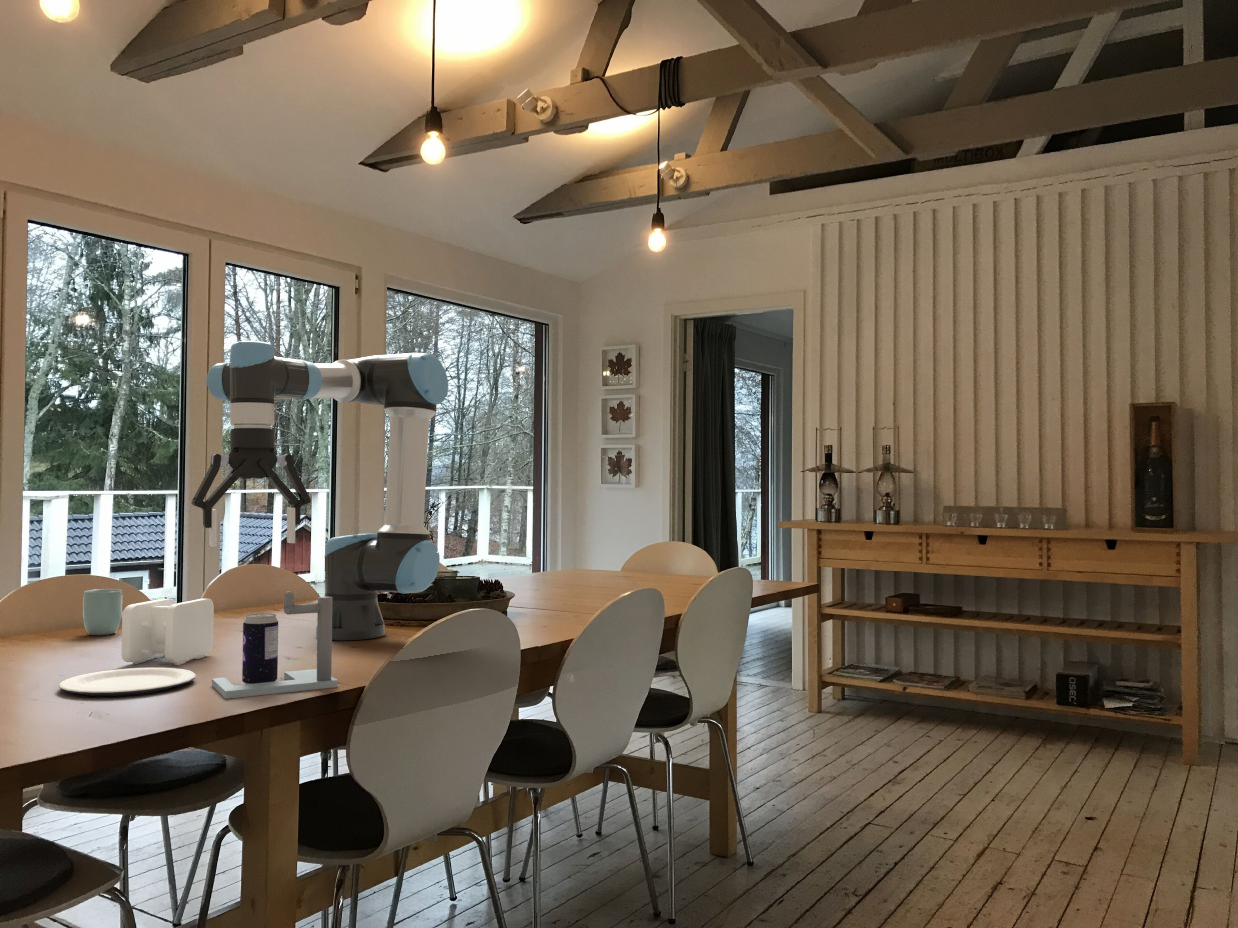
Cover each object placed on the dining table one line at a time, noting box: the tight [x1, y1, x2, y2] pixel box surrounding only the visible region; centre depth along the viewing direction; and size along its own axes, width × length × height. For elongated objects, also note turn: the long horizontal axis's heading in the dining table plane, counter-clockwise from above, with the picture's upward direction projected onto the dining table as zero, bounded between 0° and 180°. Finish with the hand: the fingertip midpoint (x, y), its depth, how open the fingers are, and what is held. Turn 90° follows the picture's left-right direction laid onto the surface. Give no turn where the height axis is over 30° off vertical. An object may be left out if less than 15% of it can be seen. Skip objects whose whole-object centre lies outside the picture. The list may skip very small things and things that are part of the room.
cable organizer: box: [121, 598, 215, 666], centre depth 189 cm, size 15×11×12 cm
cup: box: [82, 588, 123, 636], centre depth 222 cm, size 8×8×10 cm
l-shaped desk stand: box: [211, 590, 339, 700], centre depth 165 cm, size 18×12×17 cm, turn 122°
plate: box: [58, 667, 197, 697], centre depth 165 cm, size 21×21×2 cm
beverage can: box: [241, 612, 279, 685], centre depth 166 cm, size 6×6×12 cm
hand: (252, 544), depth 175 cm, fingers open, 13 cm apart
